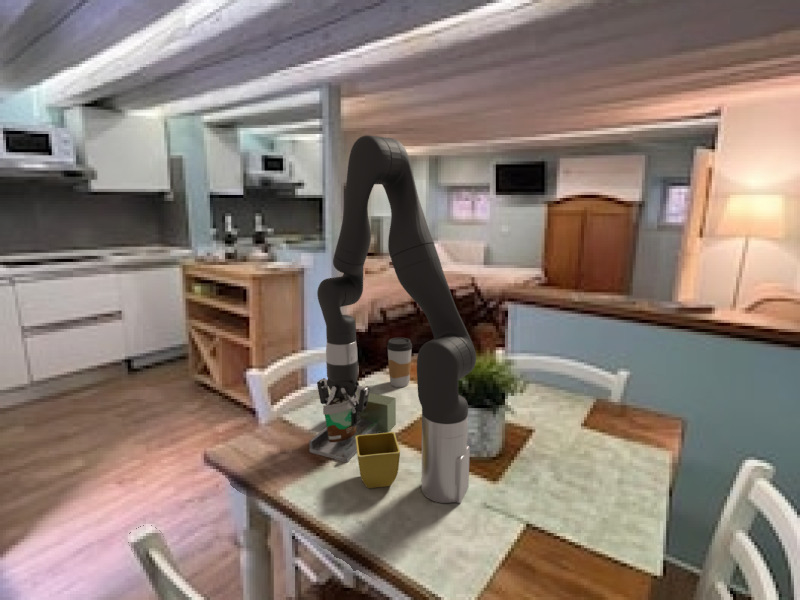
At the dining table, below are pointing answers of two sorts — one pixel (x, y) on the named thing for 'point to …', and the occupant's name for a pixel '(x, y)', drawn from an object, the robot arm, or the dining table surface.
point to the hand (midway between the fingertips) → (343, 422)
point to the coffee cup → (399, 361)
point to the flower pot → (378, 458)
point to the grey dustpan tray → (358, 428)
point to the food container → (339, 419)
